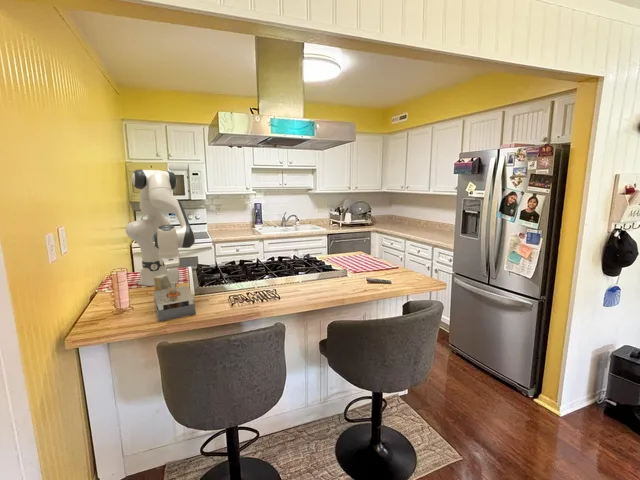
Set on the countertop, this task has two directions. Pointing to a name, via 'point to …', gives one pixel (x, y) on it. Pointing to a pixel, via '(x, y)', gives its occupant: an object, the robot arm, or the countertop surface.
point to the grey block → (172, 291)
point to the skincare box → (161, 282)
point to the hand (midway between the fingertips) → (172, 287)
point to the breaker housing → (174, 304)
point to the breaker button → (173, 295)
